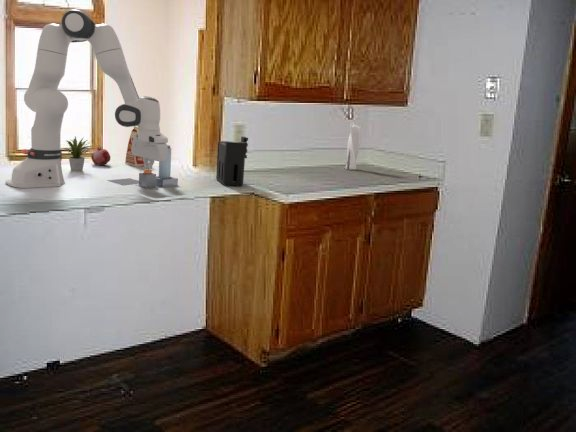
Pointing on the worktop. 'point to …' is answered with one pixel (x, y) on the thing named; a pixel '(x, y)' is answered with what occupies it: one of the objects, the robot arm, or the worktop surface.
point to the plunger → (147, 171)
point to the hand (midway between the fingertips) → (148, 169)
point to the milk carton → (129, 157)
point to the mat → (125, 181)
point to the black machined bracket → (231, 162)
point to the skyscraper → (353, 147)
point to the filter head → (155, 181)
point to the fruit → (100, 156)
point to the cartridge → (165, 166)
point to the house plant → (77, 155)
